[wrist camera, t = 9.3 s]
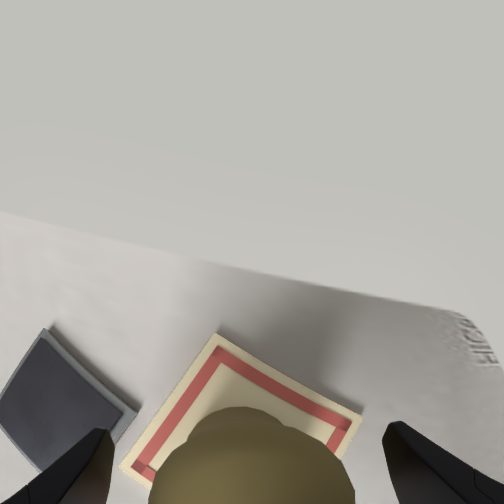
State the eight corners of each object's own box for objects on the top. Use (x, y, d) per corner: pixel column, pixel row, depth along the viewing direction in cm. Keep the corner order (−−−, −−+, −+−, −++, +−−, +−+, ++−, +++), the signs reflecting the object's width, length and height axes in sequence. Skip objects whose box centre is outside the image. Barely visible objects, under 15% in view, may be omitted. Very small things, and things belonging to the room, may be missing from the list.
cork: (318, 449, 14) (437, 487, 5) (246, 524, 12) (269, 643, 2) (235, 384, 16) (244, 345, 6) (160, 458, 14) (64, 515, 4)
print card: (360, 417, 16) (364, 417, 15) (271, 550, 11) (272, 553, 11) (215, 334, 18) (214, 331, 17) (120, 465, 13) (117, 467, 13)
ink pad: (138, 412, 15) (133, 412, 14) (74, 500, 12) (67, 503, 11) (48, 330, 17) (40, 325, 16) (-6, 413, 13) (-15, 412, 12)
